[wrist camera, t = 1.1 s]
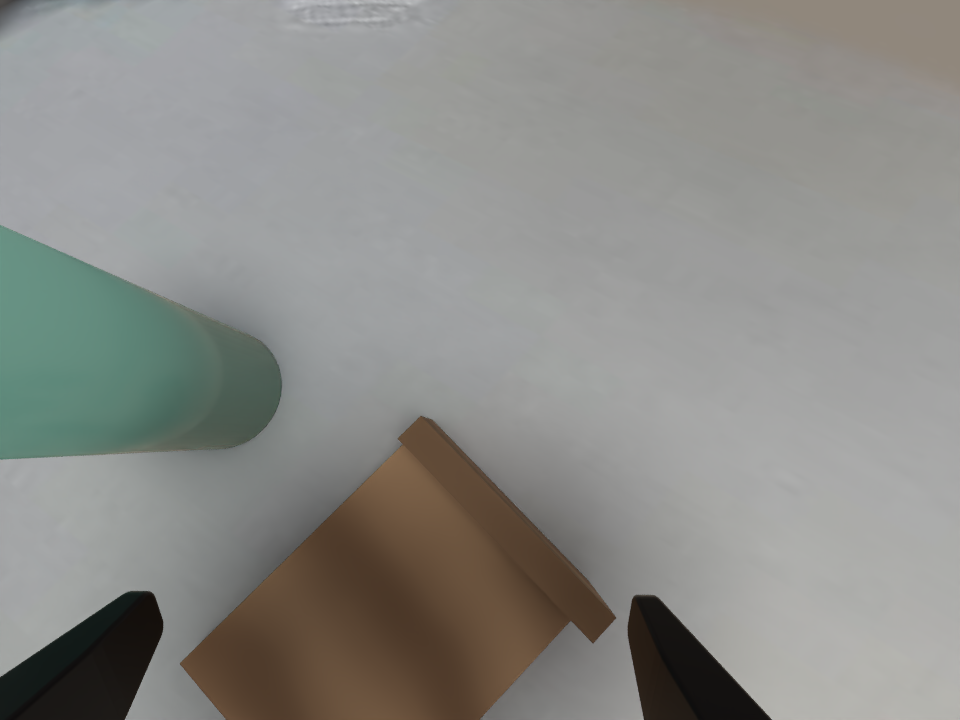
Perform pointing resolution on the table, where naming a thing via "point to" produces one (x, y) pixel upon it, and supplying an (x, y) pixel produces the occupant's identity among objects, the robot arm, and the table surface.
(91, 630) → the robot arm
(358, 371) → the table surface
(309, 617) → the shelf board
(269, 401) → the mint green capsule
